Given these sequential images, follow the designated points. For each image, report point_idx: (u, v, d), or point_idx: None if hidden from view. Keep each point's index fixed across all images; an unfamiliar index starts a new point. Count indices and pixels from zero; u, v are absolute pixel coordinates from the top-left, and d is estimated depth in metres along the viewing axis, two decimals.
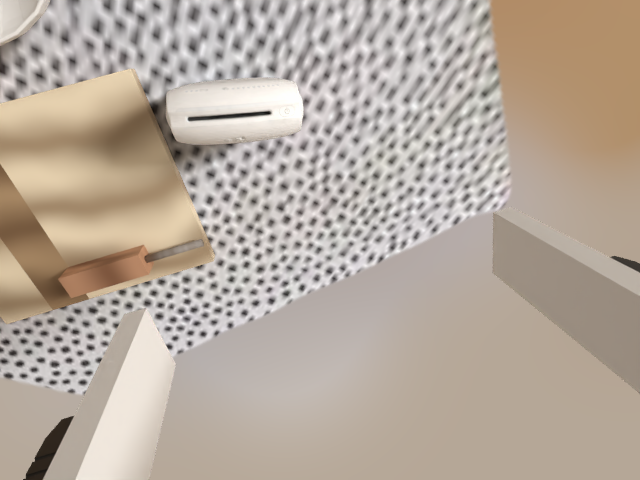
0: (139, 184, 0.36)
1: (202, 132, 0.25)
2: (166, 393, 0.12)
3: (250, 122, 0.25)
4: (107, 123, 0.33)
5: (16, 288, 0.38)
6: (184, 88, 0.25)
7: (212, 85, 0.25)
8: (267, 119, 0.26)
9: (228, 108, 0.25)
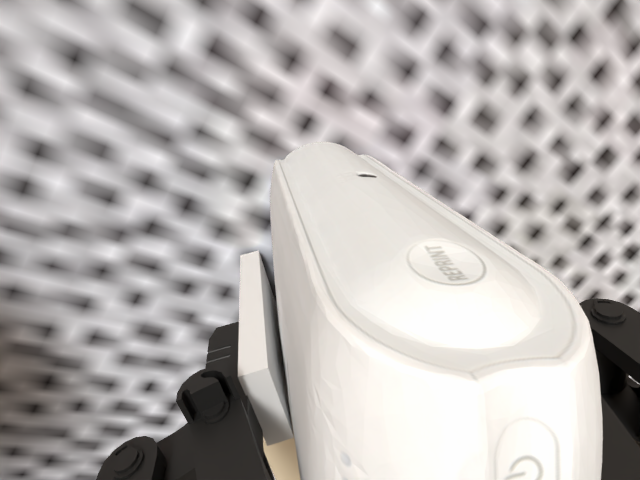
0: None
1: None
2: (277, 322, 0.15)
3: None
4: None
5: None
6: None
7: None
8: None
9: None
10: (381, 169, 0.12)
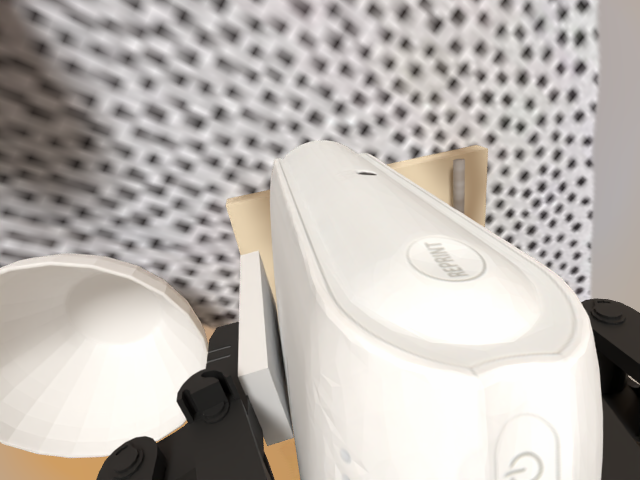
0: None
1: None
2: (277, 322, 0.15)
3: None
4: None
5: None
6: None
7: None
8: None
9: None
10: (381, 167, 0.12)
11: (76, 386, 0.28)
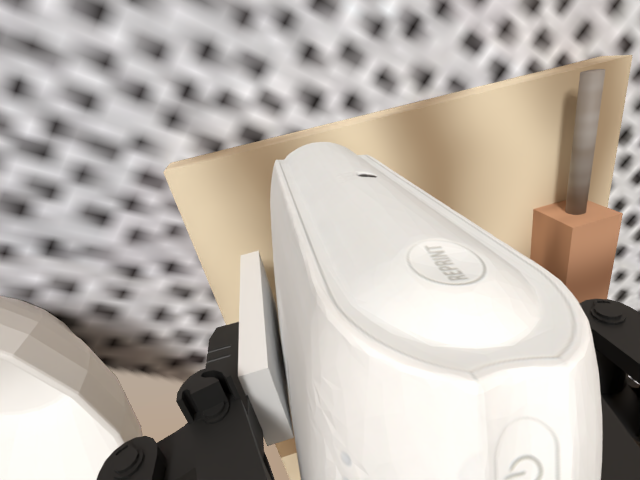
0: None
1: None
2: (277, 322, 0.15)
3: None
4: None
5: None
6: None
7: None
8: None
9: None
10: (381, 169, 0.12)
11: None
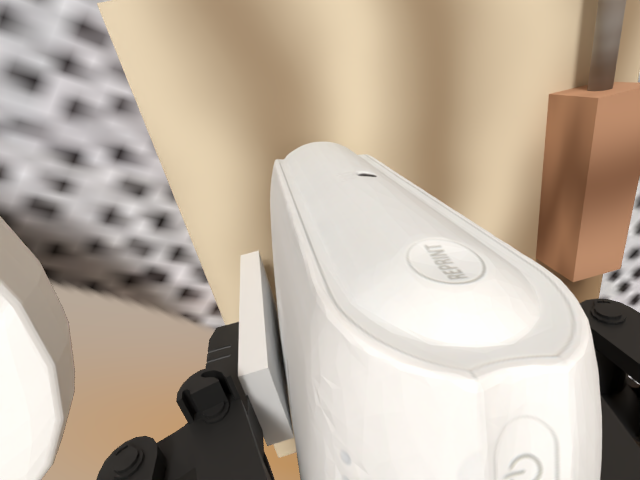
0: (404, 63, 0.14)
1: None
2: (277, 322, 0.15)
3: None
4: (247, 104, 0.13)
5: None
6: None
7: None
8: None
9: None
10: (381, 168, 0.12)
11: None
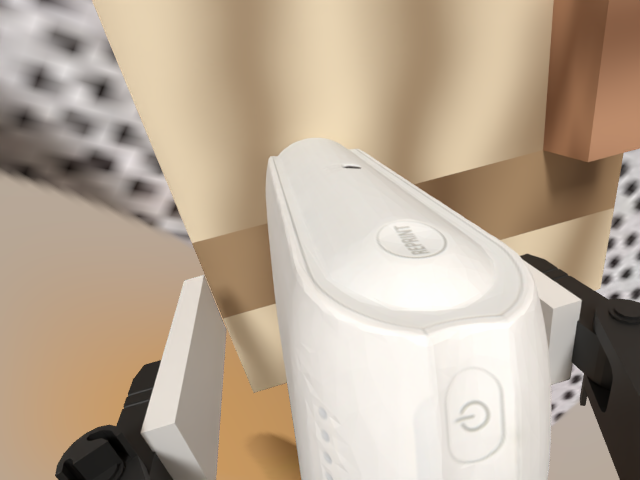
0: None
1: None
2: (223, 351, 0.14)
3: None
4: None
5: (546, 256, 0.19)
6: None
7: None
8: None
9: None
10: (369, 161, 0.12)
11: None
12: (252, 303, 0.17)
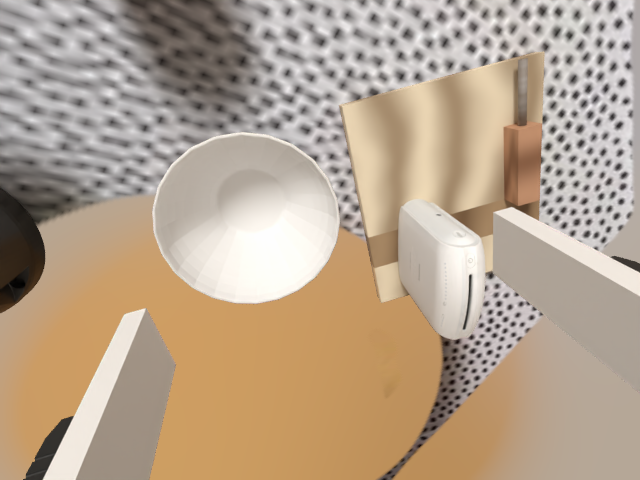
0: (444, 118, 0.36)
1: (475, 321, 0.32)
2: (166, 393, 0.12)
3: (476, 292, 0.30)
4: (386, 136, 0.36)
5: None
6: (436, 324, 0.33)
7: (438, 308, 0.32)
8: (476, 278, 0.29)
9: (464, 307, 0.30)
10: (439, 209, 0.37)
11: (228, 259, 0.37)
12: (386, 262, 0.42)
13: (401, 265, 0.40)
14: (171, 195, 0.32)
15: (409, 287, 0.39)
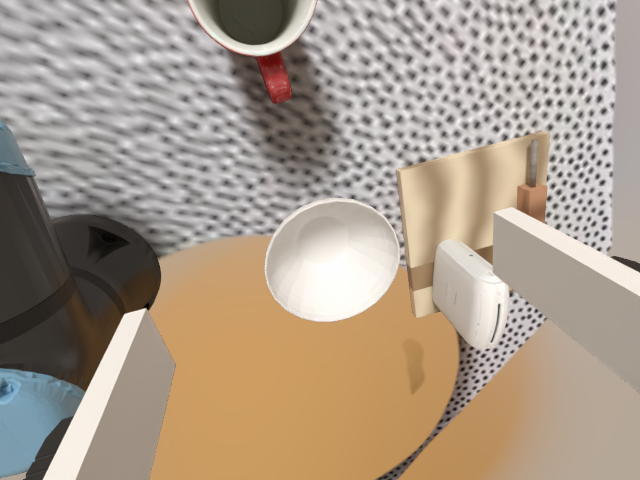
0: (474, 180, 0.47)
1: (500, 337, 0.43)
2: (166, 393, 0.12)
3: (503, 316, 0.41)
4: (430, 193, 0.47)
5: None
6: (470, 338, 0.44)
7: (472, 326, 0.43)
8: (503, 306, 0.41)
9: (493, 327, 0.41)
10: (469, 249, 0.48)
11: (306, 285, 0.48)
12: (422, 286, 0.53)
13: (436, 290, 0.51)
14: (275, 240, 0.42)
15: (443, 308, 0.50)
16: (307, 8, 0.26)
